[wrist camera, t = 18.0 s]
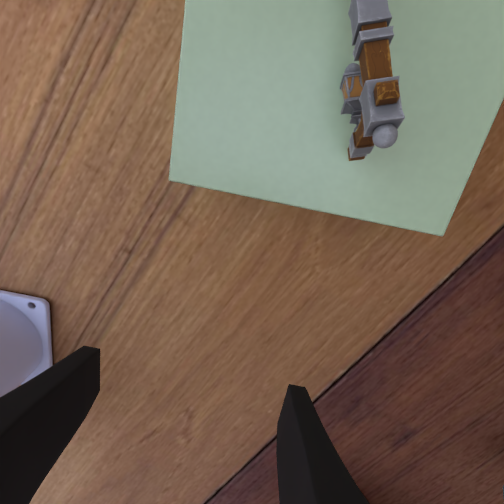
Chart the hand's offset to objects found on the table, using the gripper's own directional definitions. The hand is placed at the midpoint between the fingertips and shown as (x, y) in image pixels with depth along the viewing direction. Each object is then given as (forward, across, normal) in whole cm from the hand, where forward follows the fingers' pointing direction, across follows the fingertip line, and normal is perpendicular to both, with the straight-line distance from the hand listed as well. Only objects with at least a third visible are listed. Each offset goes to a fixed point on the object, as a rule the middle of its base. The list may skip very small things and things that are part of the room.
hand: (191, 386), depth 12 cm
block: (+9, -4, -13) cm, 16 cm away
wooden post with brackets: (+6, -4, -13) cm, 15 cm away
